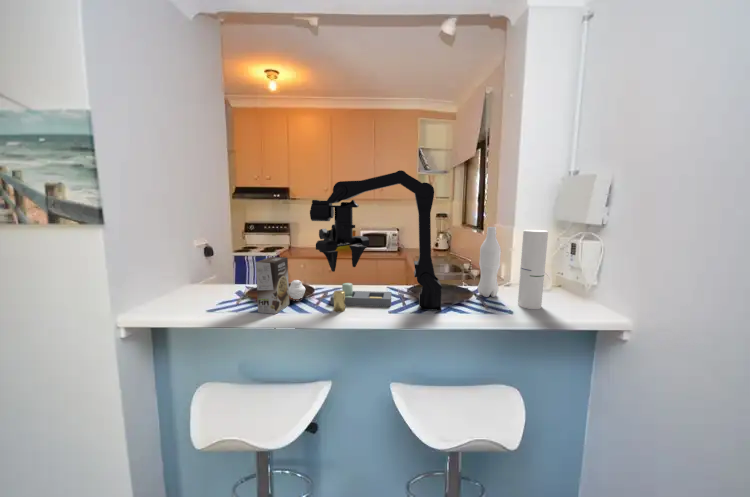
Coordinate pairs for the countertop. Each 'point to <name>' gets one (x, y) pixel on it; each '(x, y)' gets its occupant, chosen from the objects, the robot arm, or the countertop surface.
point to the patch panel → (366, 298)
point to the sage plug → (348, 289)
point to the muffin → (296, 289)
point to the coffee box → (272, 284)
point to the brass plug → (339, 301)
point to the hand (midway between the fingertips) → (343, 269)
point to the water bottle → (489, 264)
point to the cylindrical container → (532, 268)
